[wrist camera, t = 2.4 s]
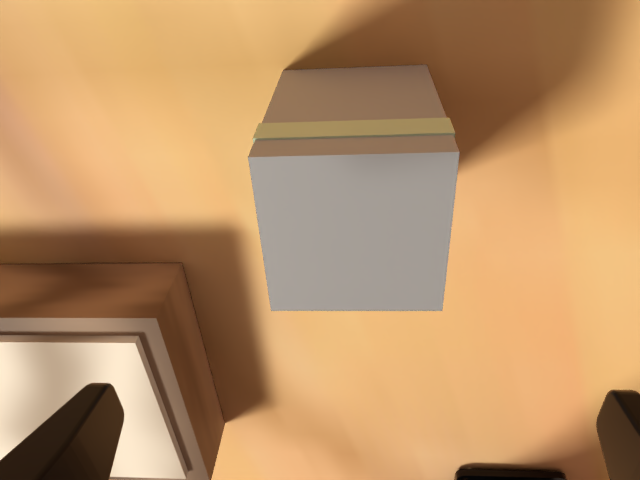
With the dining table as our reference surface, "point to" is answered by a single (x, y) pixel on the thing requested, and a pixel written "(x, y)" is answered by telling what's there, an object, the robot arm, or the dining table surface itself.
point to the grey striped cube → (355, 190)
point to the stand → (111, 361)
